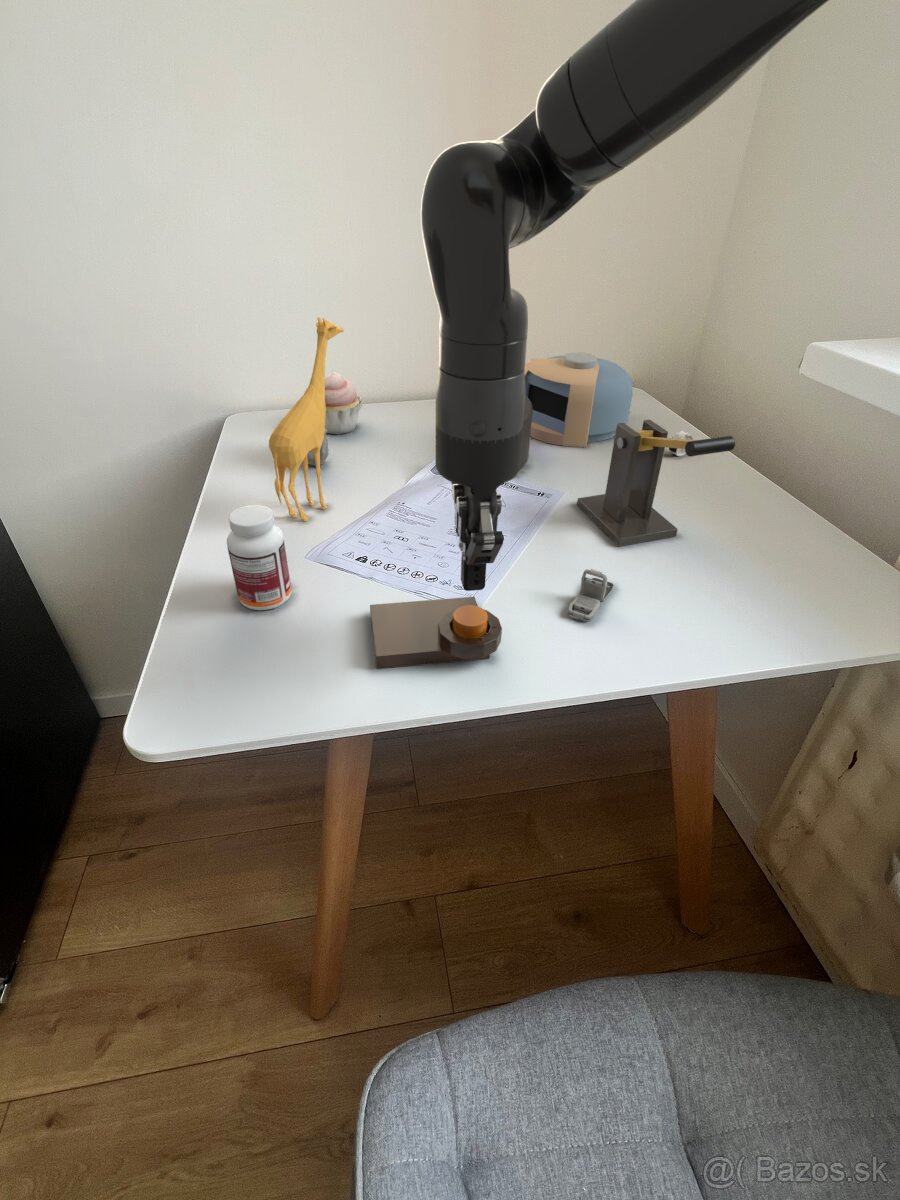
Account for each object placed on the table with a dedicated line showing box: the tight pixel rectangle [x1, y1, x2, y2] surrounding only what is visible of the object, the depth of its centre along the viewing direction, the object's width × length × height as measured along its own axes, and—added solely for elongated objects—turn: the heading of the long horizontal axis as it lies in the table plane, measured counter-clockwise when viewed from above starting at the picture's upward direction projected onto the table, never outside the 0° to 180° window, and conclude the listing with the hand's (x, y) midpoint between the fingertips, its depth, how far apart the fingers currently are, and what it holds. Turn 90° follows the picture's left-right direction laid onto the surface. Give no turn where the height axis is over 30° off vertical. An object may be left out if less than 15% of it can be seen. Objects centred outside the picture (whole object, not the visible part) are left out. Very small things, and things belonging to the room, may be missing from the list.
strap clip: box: [567, 568, 614, 622], centre depth 81 cm, size 8×3×4 cm, turn 150°
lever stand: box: [576, 419, 679, 547], centre depth 94 cm, size 12×9×14 cm
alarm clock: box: [525, 351, 633, 448], centre depth 123 cm, size 19×20×12 cm
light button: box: [453, 605, 488, 639], centre depth 72 cm, size 4×4×2 cm
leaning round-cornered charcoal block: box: [519, 395, 533, 472], centre depth 112 cm, size 16×5×10 cm, turn 1°
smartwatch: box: [668, 430, 694, 457], centre depth 116 cm, size 4×2×4 cm, turn 116°
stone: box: [307, 428, 329, 467], centre depth 109 cm, size 9×7×10 cm
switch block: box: [369, 596, 503, 670], centre depth 75 cm, size 13×11×4 cm
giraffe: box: [268, 316, 345, 522], centre depth 93 cm, size 16×4×25 cm, turn 152°
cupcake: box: [325, 370, 365, 435], centre depth 120 cm, size 9×9×10 cm
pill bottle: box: [226, 504, 292, 611], centre depth 79 cm, size 6×6×11 cm
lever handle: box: [635, 429, 736, 457], centre depth 85 cm, size 16×6×2 cm, turn 20°
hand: (472, 585), depth 70 cm, fingers closed
